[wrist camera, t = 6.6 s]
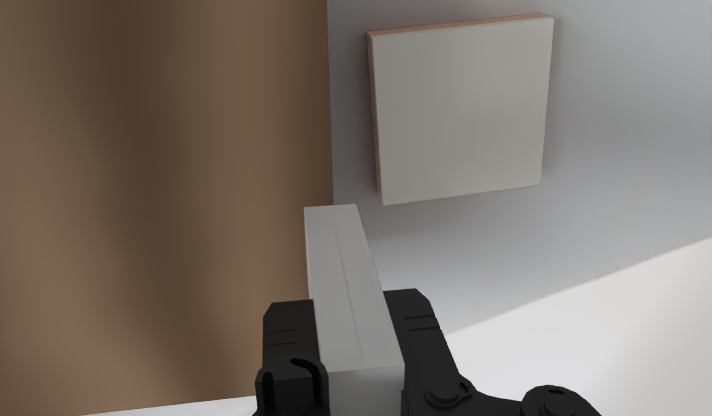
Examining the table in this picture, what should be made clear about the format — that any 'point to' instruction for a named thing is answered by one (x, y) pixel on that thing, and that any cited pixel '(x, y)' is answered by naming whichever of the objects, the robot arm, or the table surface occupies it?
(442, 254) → the table surface
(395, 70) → the terracotta tile
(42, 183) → the walnut step
